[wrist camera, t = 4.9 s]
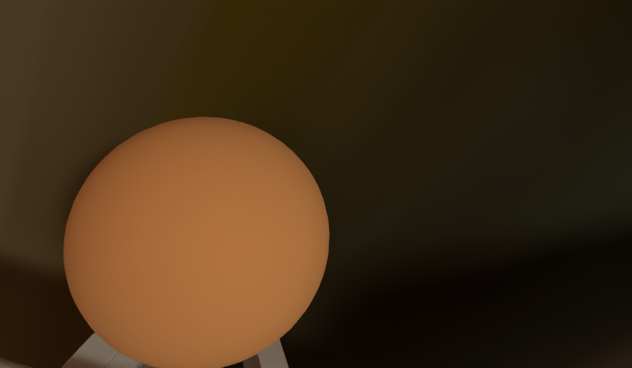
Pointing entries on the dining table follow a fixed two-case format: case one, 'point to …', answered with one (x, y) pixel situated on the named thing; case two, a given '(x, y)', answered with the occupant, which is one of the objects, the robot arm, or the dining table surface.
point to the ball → (196, 243)
